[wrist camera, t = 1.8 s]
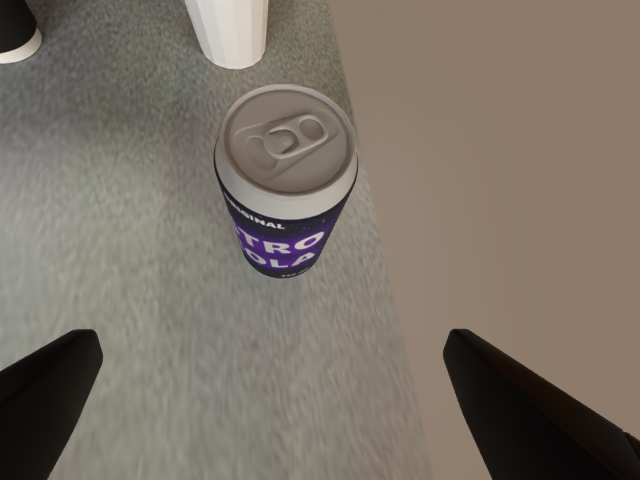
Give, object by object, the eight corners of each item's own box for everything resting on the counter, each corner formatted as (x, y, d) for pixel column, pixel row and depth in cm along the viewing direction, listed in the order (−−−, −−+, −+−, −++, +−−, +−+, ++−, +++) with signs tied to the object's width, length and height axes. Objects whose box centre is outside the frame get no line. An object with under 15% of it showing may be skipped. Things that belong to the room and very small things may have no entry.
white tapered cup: (242, 8, 29) (233, -90, 23) (287, 55, 28) (291, -33, 21) (177, 34, 27) (146, -66, 20) (222, 87, 26) (205, -1, 19)
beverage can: (227, 228, 22) (178, 104, 11) (295, 194, 24) (315, 56, 12) (266, 296, 21) (257, 238, 9) (335, 256, 22) (397, 165, 11)
